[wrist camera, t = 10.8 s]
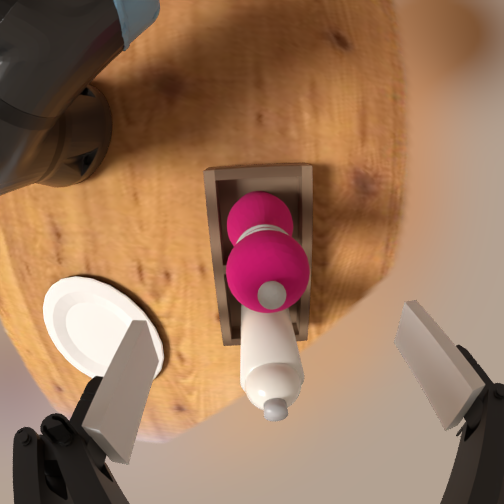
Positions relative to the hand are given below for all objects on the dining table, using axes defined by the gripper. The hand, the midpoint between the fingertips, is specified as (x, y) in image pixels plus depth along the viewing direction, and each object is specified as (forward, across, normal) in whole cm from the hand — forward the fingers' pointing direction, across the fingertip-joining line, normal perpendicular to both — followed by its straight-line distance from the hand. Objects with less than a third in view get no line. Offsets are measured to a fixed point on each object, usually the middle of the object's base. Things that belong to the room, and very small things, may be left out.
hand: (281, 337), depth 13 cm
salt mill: (+23, 0, -12) cm, 26 cm away
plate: (+25, -29, -20) cm, 43 cm away
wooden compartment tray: (+25, 0, -6) cm, 25 cm away
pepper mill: (+24, 0, 0) cm, 24 cm away
